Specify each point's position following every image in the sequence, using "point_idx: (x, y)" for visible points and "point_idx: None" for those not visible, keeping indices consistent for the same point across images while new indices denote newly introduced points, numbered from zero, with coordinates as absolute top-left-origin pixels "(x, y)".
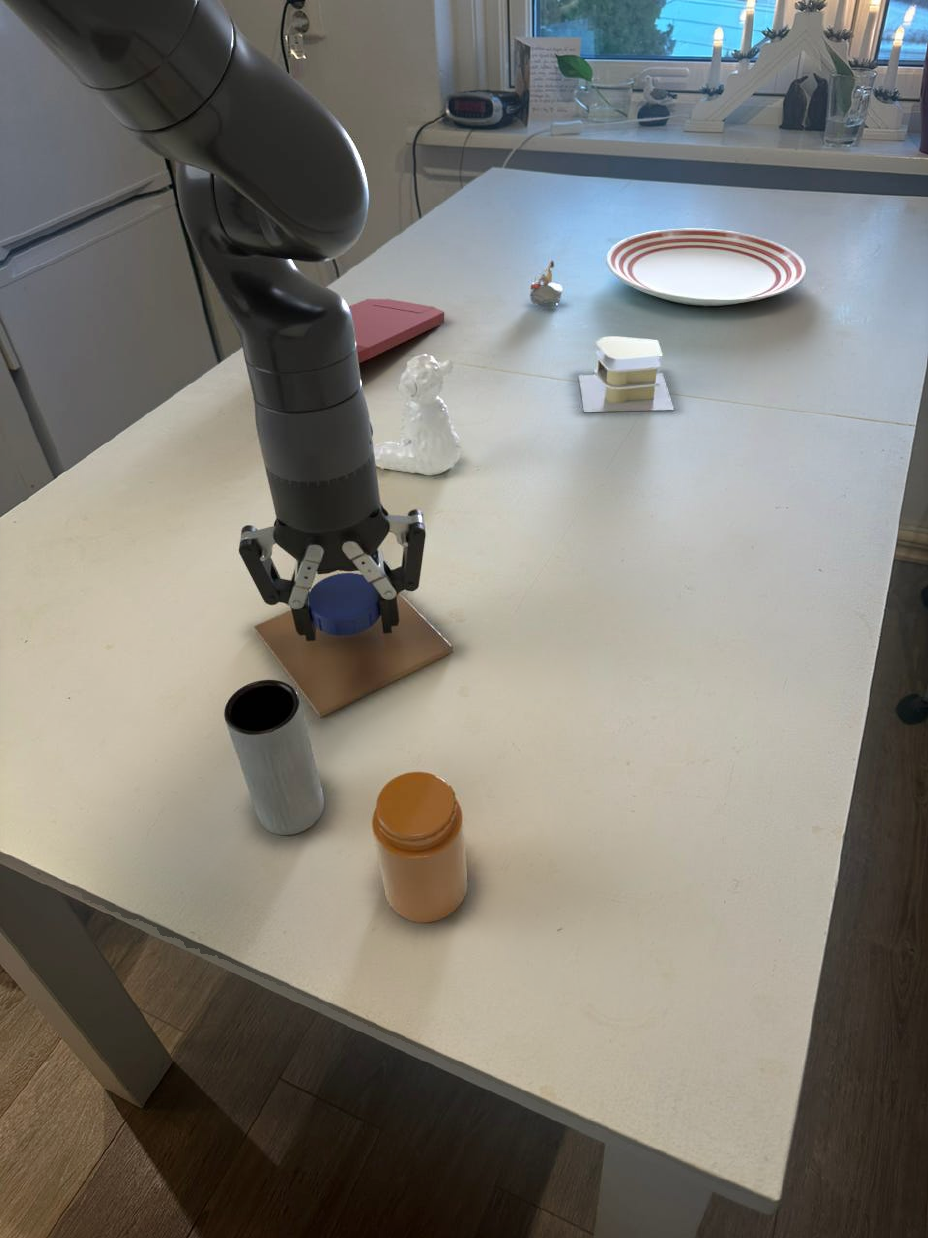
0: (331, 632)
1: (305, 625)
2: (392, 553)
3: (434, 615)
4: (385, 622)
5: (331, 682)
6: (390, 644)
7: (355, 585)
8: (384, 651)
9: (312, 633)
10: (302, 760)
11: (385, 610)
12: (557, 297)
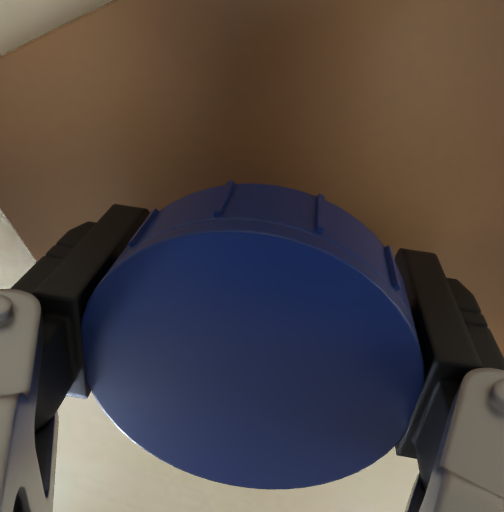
0: (343, 215)
1: (444, 296)
2: (133, 481)
3: (18, 266)
4: (113, 228)
5: (387, 24)
6: (139, 171)
7: (185, 417)
8: (162, 144)
9: (413, 265)
10: None
11: (79, 260)
12: None
